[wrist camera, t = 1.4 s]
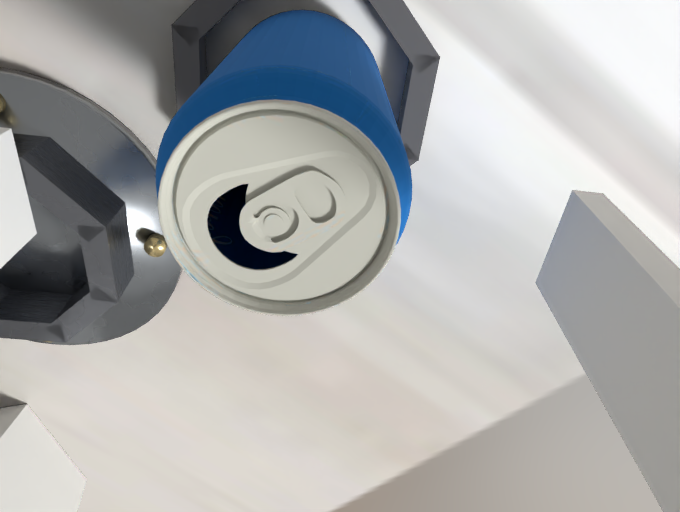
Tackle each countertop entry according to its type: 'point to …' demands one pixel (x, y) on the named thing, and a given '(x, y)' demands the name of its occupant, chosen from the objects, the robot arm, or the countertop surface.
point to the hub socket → (81, 221)
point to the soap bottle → (35, 466)
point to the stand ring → (392, 10)
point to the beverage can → (286, 170)
